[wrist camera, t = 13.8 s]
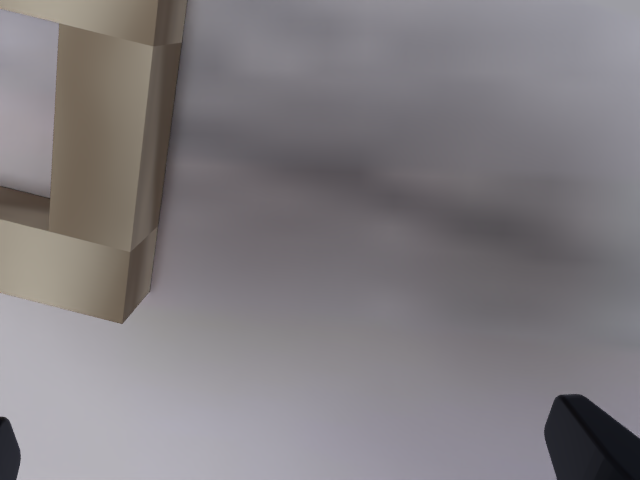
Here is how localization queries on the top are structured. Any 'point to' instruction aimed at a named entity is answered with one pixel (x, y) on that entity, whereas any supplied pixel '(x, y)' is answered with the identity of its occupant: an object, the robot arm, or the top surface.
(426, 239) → the top surface
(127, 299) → the socket block
